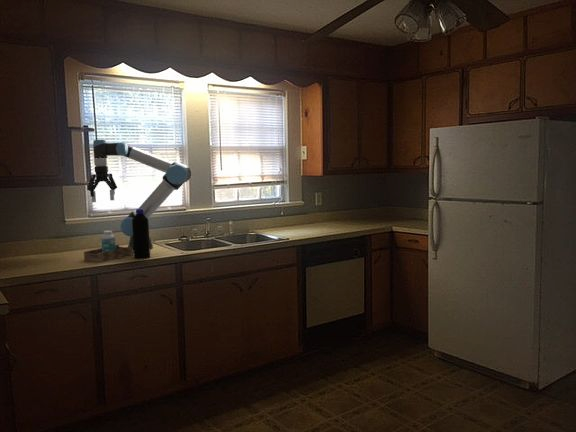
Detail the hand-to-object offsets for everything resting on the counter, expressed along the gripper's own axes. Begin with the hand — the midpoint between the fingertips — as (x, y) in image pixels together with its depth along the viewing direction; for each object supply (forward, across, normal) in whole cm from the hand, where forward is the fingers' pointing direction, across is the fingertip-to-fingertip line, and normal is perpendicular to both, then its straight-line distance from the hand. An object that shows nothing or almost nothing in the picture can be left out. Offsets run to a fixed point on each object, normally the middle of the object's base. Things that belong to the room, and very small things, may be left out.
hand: (103, 201), depth 297 cm
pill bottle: (+30, +9, +13) cm, 34 cm away
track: (+32, +9, +13) cm, 35 cm away
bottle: (+32, +1, +31) cm, 44 cm away
